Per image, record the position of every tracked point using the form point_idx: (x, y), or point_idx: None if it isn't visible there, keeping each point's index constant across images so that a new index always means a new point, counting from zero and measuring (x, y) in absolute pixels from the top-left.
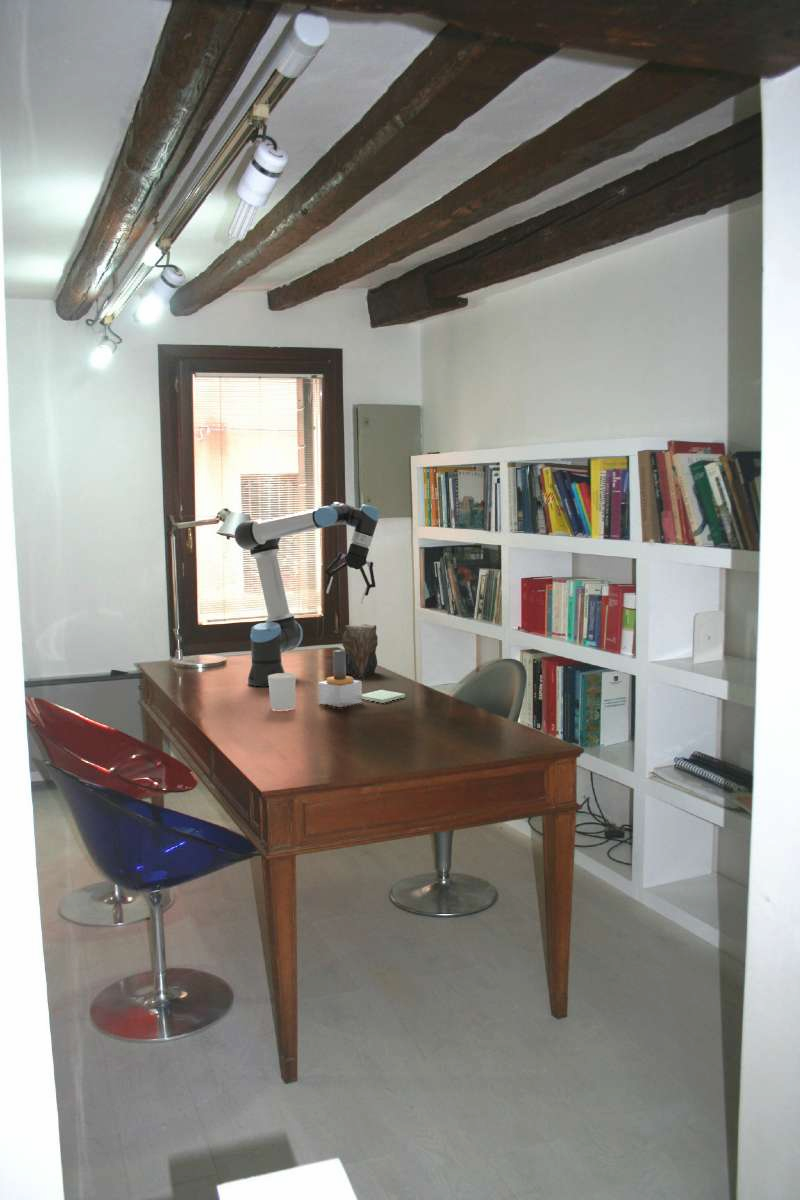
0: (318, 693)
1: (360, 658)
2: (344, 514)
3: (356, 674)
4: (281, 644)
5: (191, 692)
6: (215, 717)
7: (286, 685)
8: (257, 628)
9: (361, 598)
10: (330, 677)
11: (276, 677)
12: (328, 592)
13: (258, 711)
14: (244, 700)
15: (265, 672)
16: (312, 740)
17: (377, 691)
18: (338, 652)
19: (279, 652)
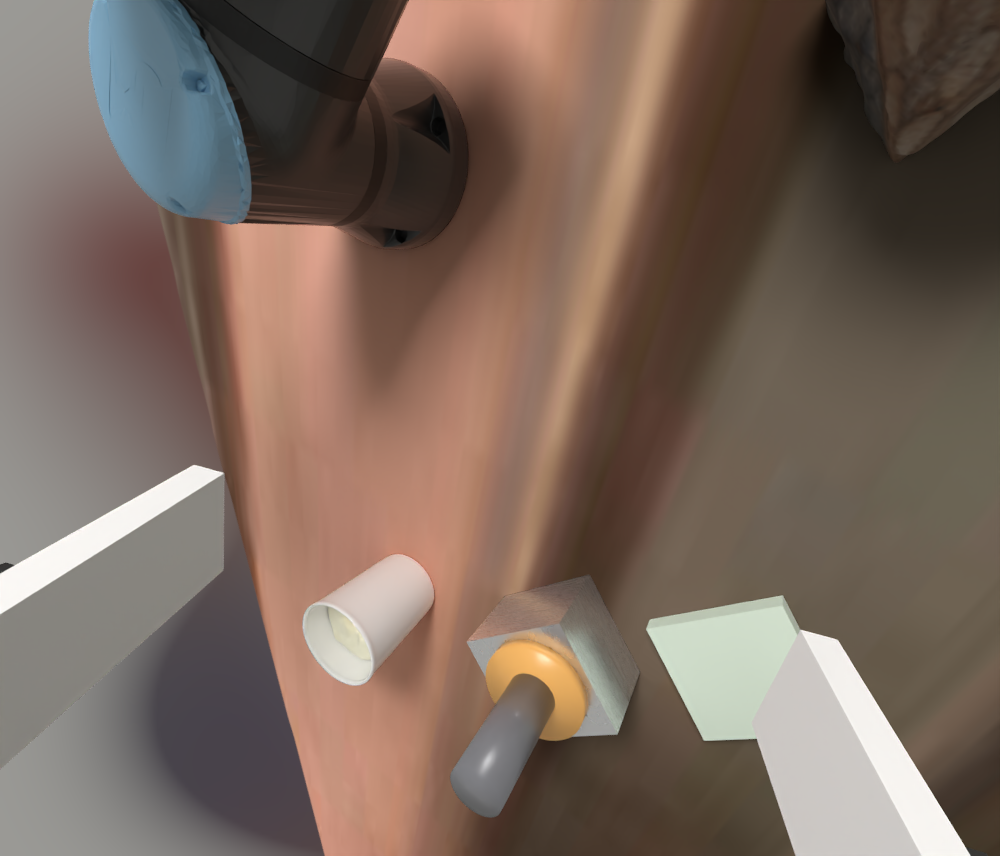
0: (487, 617)
1: (925, 105)
2: None
3: (872, 117)
4: (319, 159)
5: (204, 237)
6: (276, 559)
7: (362, 666)
8: (121, 153)
9: (807, 747)
10: (505, 657)
11: (333, 598)
12: (212, 579)
13: (354, 566)
14: (326, 423)
15: (348, 233)
16: (429, 841)
17: (749, 624)
18: (468, 805)
19: (340, 187)
